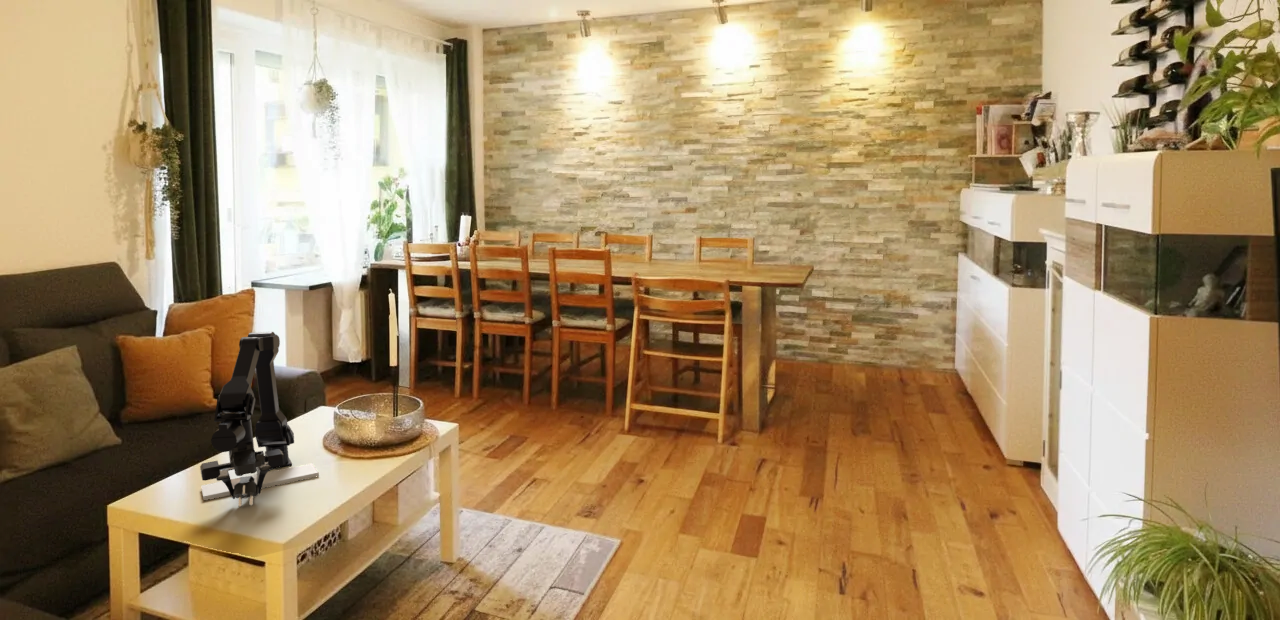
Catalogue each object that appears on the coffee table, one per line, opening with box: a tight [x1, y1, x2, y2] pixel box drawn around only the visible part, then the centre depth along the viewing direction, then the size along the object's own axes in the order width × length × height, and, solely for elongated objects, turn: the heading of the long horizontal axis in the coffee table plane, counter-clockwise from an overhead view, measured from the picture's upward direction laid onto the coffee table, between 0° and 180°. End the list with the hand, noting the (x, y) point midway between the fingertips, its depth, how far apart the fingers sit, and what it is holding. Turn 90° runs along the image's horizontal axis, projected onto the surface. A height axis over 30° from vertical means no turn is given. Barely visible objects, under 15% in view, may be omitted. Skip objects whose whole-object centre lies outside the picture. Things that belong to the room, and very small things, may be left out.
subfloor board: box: [200, 462, 320, 501], centre depth 209 cm, size 8×28×1 cm, turn 123°
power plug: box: [232, 475, 259, 508], centre depth 198 cm, size 6×8×12 cm
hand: (246, 495), depth 197 cm, fingers closed on power plug, 5 cm apart
